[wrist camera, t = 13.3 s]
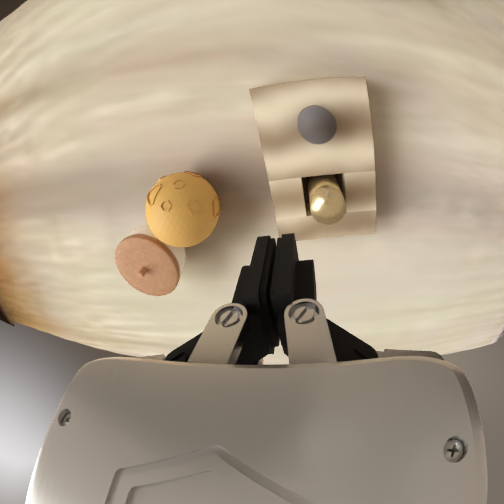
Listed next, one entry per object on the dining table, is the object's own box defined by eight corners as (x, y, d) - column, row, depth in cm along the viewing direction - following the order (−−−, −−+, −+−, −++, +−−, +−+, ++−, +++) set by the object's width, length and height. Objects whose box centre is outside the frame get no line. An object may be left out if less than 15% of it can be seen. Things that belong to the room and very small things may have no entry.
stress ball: (208, 227, 43) (244, 231, 35) (152, 254, 39) (176, 266, 31) (187, 167, 40) (220, 156, 32) (128, 190, 35) (145, 182, 27)
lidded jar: (186, 276, 49) (167, 313, 41) (134, 252, 47) (108, 285, 40) (202, 228, 42) (181, 263, 35) (142, 202, 41) (111, 232, 34)
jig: (254, 89, 30) (244, 89, 24) (357, 77, 27) (372, 75, 21) (281, 227, 40) (278, 254, 35) (369, 219, 37) (381, 245, 32)
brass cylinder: (306, 171, 35) (308, 193, 29) (335, 168, 34) (345, 189, 28) (309, 198, 37) (312, 226, 31) (338, 196, 36) (347, 223, 30)
